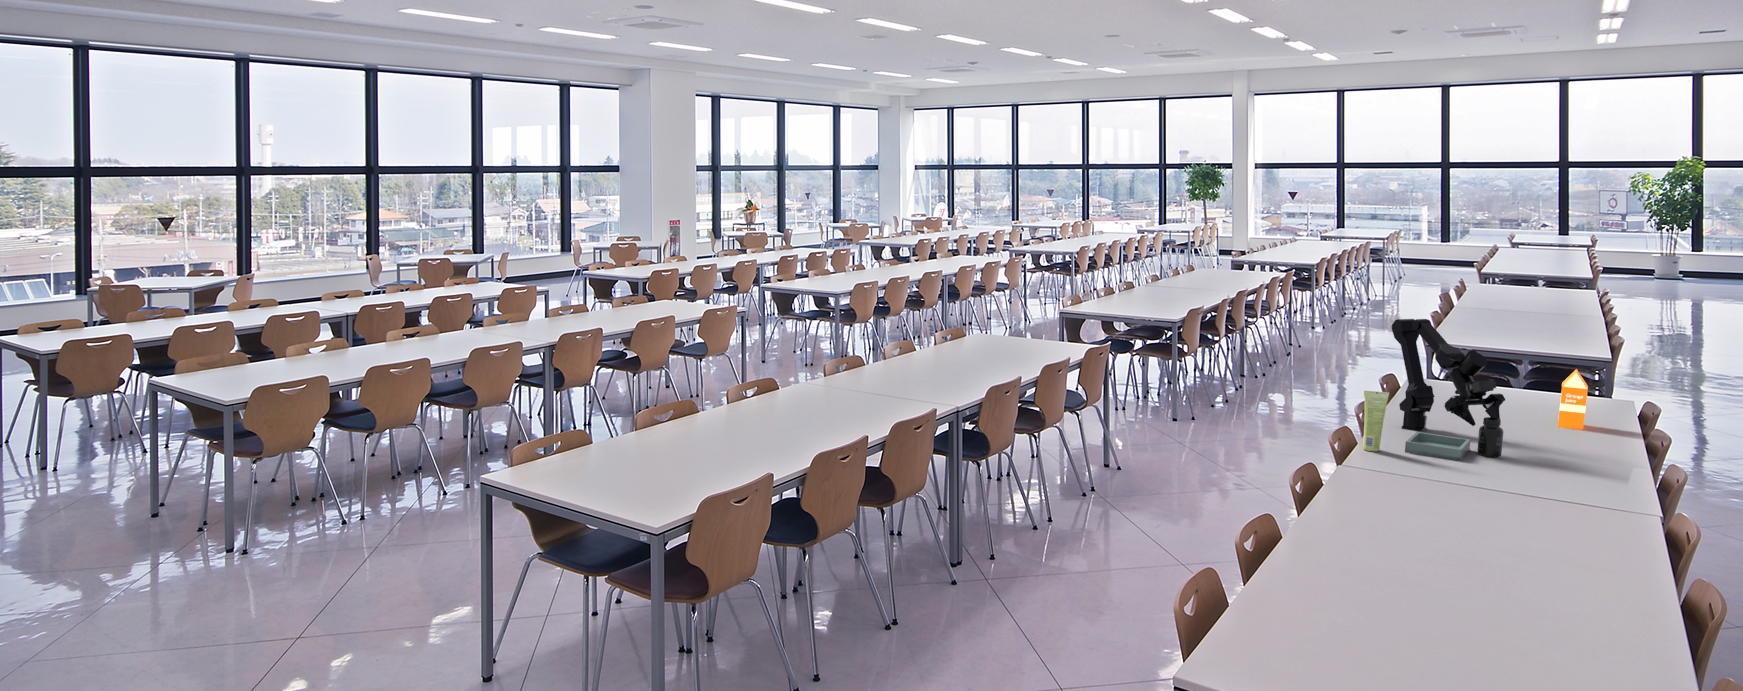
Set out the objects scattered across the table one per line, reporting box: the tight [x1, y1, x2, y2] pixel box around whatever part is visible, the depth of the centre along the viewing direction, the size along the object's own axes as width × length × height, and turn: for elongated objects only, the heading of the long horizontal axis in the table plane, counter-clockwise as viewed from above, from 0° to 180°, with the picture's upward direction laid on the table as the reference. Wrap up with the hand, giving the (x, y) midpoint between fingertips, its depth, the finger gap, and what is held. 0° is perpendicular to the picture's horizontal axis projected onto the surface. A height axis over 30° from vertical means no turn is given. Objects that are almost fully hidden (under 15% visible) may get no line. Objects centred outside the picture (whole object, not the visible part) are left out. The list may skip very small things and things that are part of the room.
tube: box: [1362, 390, 1390, 452], centre depth 351 cm, size 6×5×20 cm
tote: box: [1404, 431, 1472, 461], centre depth 351 cm, size 16×16×4 cm
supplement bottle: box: [1476, 416, 1504, 459], centre depth 345 cm, size 7×7×12 cm
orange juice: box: [1557, 368, 1589, 431], centre depth 383 cm, size 8×9×20 cm
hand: (1486, 424), depth 347 cm, fingers open, 9 cm apart
